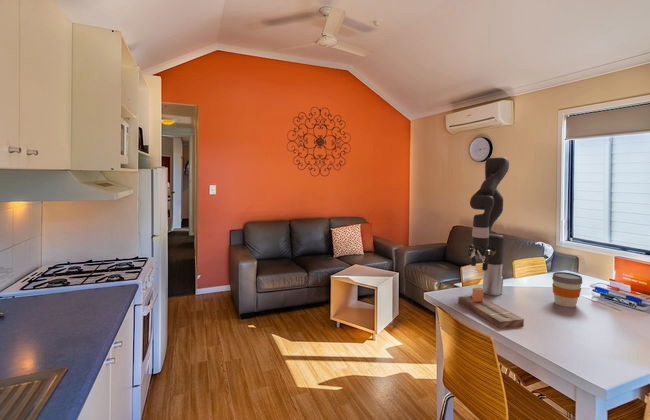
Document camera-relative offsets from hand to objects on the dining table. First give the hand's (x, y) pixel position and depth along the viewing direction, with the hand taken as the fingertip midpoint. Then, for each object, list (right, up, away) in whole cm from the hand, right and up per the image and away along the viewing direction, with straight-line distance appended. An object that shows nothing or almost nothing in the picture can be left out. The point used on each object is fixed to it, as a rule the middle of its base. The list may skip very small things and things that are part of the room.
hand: (478, 268), depth 167 cm
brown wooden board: (+2, -21, -6) cm, 21 cm away
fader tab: (0, -17, +2) cm, 17 cm away
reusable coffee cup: (+47, -20, +6) cm, 52 cm away
